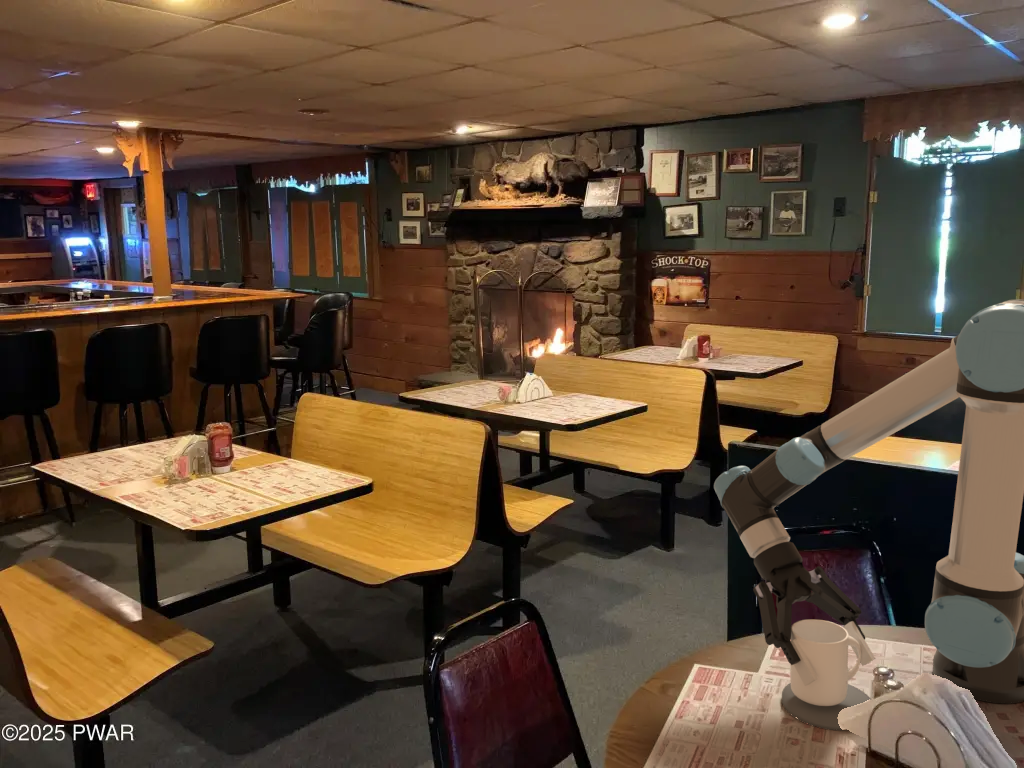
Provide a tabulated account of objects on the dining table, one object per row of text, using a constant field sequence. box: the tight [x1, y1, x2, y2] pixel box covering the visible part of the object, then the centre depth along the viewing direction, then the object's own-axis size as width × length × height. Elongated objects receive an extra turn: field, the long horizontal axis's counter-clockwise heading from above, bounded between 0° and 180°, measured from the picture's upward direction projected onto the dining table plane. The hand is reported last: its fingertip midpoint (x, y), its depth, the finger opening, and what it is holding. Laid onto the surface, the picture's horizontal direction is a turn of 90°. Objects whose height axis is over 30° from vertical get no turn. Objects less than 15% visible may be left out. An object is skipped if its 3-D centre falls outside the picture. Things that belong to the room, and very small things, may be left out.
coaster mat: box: [781, 682, 872, 732], centre depth 131 cm, size 14×14×1 cm
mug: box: [789, 618, 861, 706], centre depth 130 cm, size 9×12×11 cm
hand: (841, 672), depth 128 cm, fingers closed on mug, 12 cm apart
